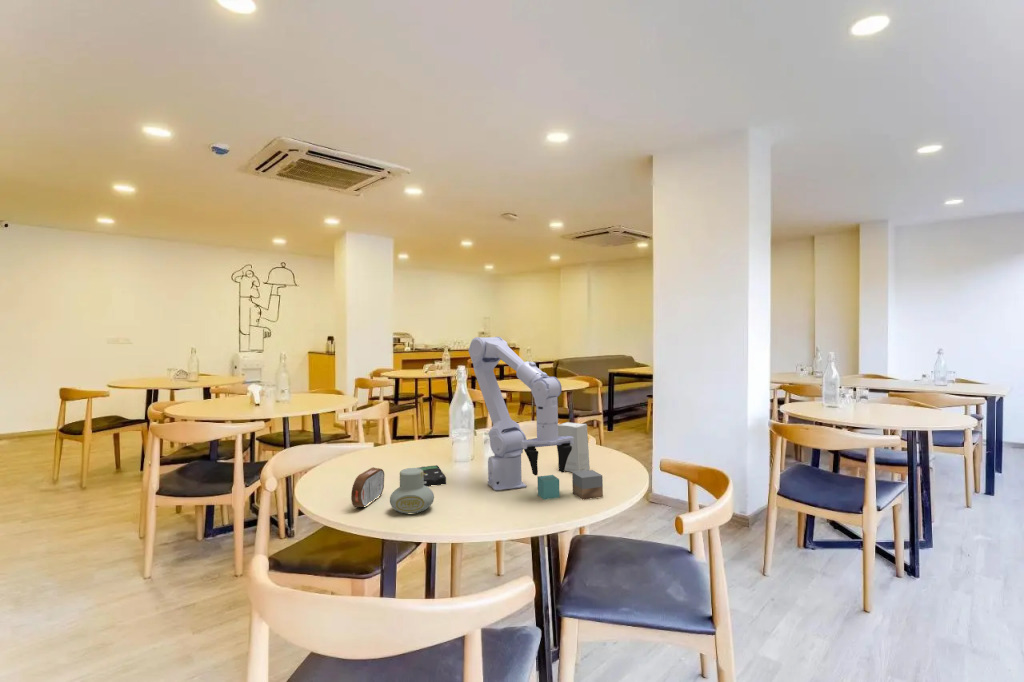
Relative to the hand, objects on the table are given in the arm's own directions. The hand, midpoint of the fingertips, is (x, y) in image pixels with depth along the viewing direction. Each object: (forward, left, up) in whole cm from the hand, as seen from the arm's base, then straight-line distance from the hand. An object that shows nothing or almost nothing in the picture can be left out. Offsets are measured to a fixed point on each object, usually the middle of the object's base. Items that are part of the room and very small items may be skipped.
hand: (548, 473), depth 136 cm
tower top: (+10, -3, -4) cm, 11 cm away
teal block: (0, 0, -6) cm, 6 cm away
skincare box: (+17, +21, -6) cm, 28 cm away
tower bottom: (+10, -3, -7) cm, 12 cm away
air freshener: (-36, +2, -7) cm, 37 cm away
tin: (-46, +12, -7) cm, 48 cm away
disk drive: (-29, +28, -7) cm, 41 cm away
